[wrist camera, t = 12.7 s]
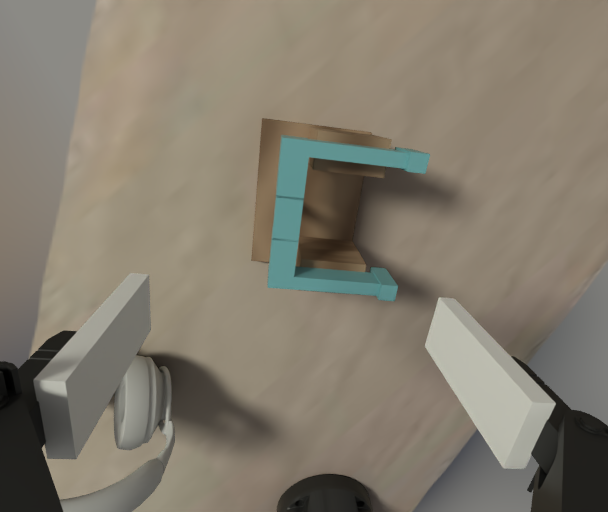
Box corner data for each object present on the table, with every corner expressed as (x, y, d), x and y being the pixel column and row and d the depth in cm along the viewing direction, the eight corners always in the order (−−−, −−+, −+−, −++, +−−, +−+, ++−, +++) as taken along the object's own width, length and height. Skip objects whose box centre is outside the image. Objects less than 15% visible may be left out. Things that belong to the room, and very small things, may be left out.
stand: (368, 132, 37) (392, 137, 30) (345, 264, 43) (360, 296, 35) (262, 118, 36) (259, 119, 29) (252, 256, 41) (247, 288, 34)
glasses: (411, 149, 32) (430, 154, 28) (382, 281, 36) (394, 301, 32) (281, 132, 30) (282, 135, 26) (268, 272, 35) (267, 291, 31)
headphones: (201, 349, 46) (151, 511, 27) (185, 409, 49) (131, 590, 31) (43, 315, 42) (-136, 474, 24) (38, 383, 46) (-123, 567, 27)
